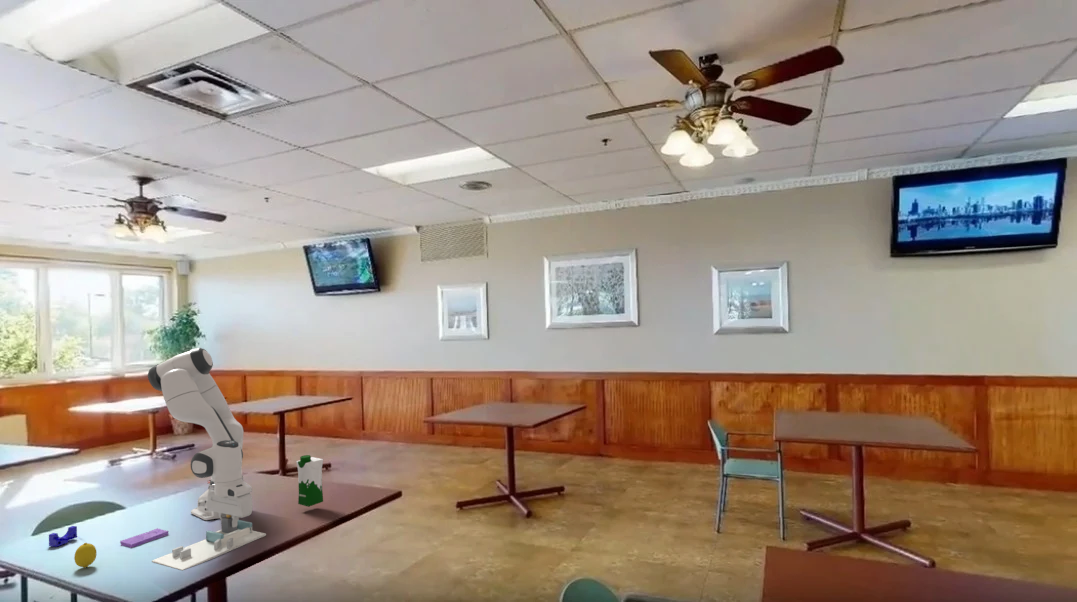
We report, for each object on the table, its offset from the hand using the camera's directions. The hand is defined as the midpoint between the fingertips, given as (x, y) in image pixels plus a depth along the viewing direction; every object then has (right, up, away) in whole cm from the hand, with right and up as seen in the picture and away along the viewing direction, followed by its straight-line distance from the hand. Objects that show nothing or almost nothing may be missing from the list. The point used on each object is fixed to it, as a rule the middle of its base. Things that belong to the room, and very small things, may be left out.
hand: (229, 525), depth 201 cm
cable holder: (-60, -6, +1) cm, 60 cm away
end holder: (0, -4, 0) cm, 4 cm away
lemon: (-35, -5, -21) cm, 41 cm away
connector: (0, -2, 0) cm, 2 cm away
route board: (-2, -5, -8) cm, 9 cm away
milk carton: (+15, -5, +35) cm, 38 cm away
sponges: (-31, -6, +1) cm, 31 cm away
